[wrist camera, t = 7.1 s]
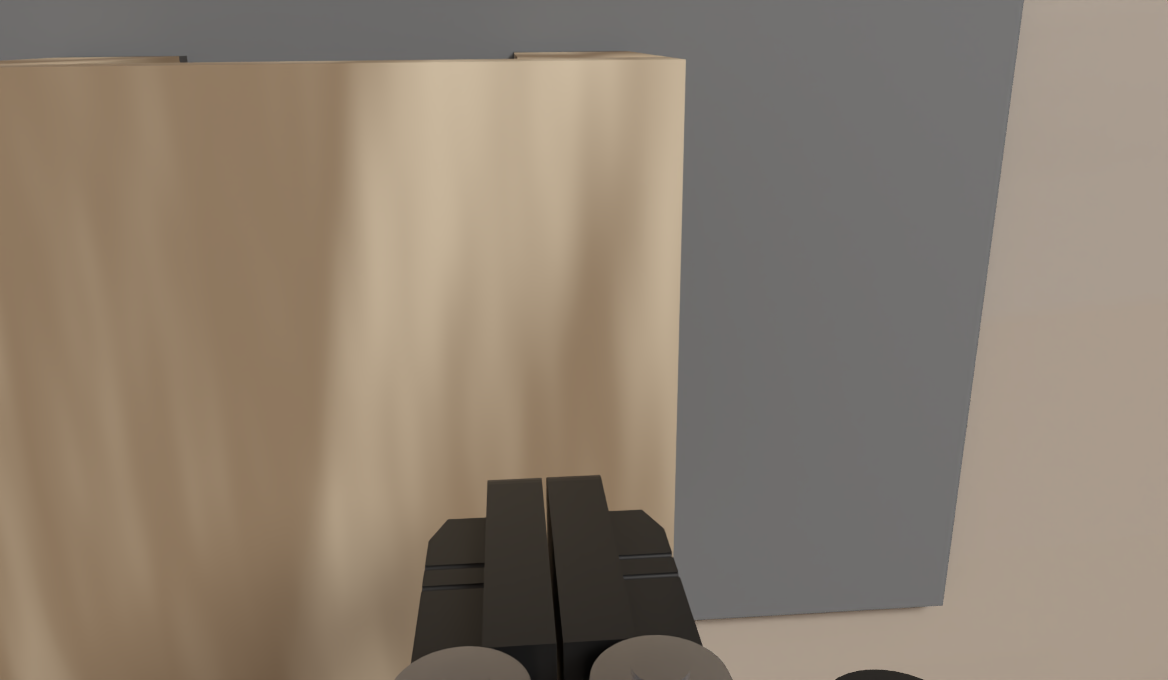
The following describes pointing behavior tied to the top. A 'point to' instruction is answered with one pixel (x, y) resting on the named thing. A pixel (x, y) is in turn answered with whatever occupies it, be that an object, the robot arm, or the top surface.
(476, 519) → the robot arm
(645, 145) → the stool
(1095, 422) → the top surface
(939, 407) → the mat
